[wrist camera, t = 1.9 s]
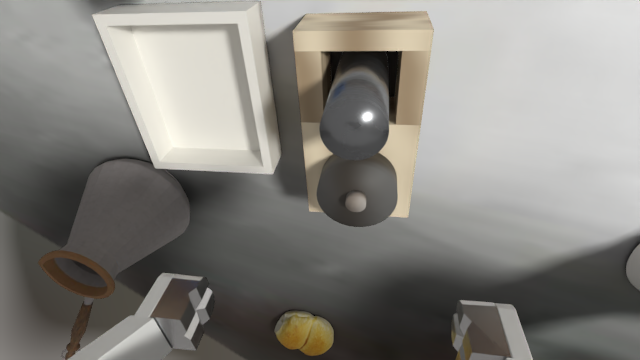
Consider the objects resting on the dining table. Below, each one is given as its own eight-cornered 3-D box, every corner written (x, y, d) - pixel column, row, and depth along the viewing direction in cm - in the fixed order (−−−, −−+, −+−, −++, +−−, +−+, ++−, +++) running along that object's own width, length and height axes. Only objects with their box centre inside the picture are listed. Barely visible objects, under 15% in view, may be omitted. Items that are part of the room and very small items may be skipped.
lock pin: (390, 39, 27) (391, 99, 19) (386, 88, 30) (386, 161, 21) (338, 40, 28) (317, 98, 19) (339, 88, 30) (320, 158, 22)
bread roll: (321, 344, 58) (317, 369, 55) (272, 325, 57) (265, 349, 53) (345, 323, 53) (342, 349, 50) (292, 301, 52) (285, 326, 48)
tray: (260, 0, 27) (246, 11, 24) (281, 153, 35) (273, 174, 33) (120, 4, 29) (91, 14, 26) (172, 149, 37) (155, 168, 34)
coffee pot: (106, 129, 37) (-25, 231, 25) (209, 174, 39) (132, 289, 27) (101, 245, 50) (13, 348, 38) (178, 275, 51) (116, 382, 40)
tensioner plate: (426, 11, 26) (440, 44, 19) (405, 183, 35) (409, 244, 29) (306, 13, 27) (281, 46, 21) (317, 179, 37) (302, 236, 30)
